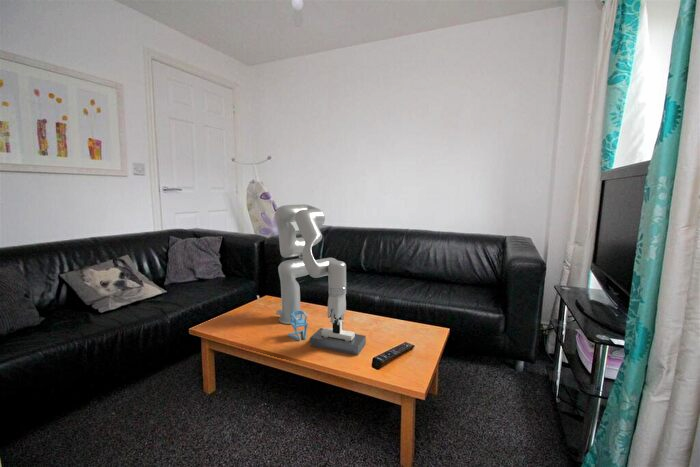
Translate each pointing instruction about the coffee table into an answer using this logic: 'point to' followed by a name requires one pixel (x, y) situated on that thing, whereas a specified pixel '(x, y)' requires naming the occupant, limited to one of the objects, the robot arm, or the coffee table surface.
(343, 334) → the white stepped block
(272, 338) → the coffee table surface
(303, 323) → the chair
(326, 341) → the slotted plate
